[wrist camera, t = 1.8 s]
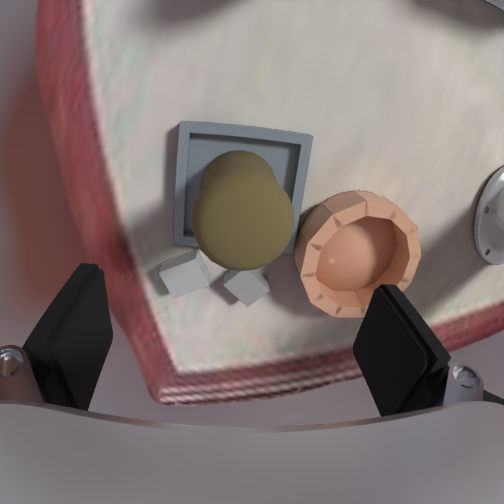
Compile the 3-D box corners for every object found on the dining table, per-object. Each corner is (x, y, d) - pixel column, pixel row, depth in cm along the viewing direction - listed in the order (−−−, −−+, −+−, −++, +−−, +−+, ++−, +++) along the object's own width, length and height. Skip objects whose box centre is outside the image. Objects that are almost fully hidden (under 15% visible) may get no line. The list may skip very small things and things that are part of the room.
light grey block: (198, 247, 28) (195, 258, 26) (210, 273, 29) (209, 285, 27) (163, 260, 28) (158, 272, 26) (176, 285, 29) (173, 298, 27)
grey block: (267, 278, 30) (269, 290, 28) (246, 294, 30) (247, 307, 28) (244, 256, 28) (245, 267, 27) (223, 273, 29) (223, 285, 27)
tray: (308, 134, 24) (313, 136, 22) (289, 246, 28) (292, 254, 27) (182, 120, 23) (179, 121, 21) (176, 237, 27) (173, 244, 26)
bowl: (415, 200, 27) (434, 213, 23) (383, 298, 31) (397, 317, 28) (306, 182, 25) (317, 193, 22) (285, 294, 30) (291, 316, 27)
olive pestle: (226, 237, 26) (224, 309, 16) (186, 176, 24) (152, 211, 14) (290, 200, 25) (330, 250, 15) (252, 135, 23) (268, 139, 13)
